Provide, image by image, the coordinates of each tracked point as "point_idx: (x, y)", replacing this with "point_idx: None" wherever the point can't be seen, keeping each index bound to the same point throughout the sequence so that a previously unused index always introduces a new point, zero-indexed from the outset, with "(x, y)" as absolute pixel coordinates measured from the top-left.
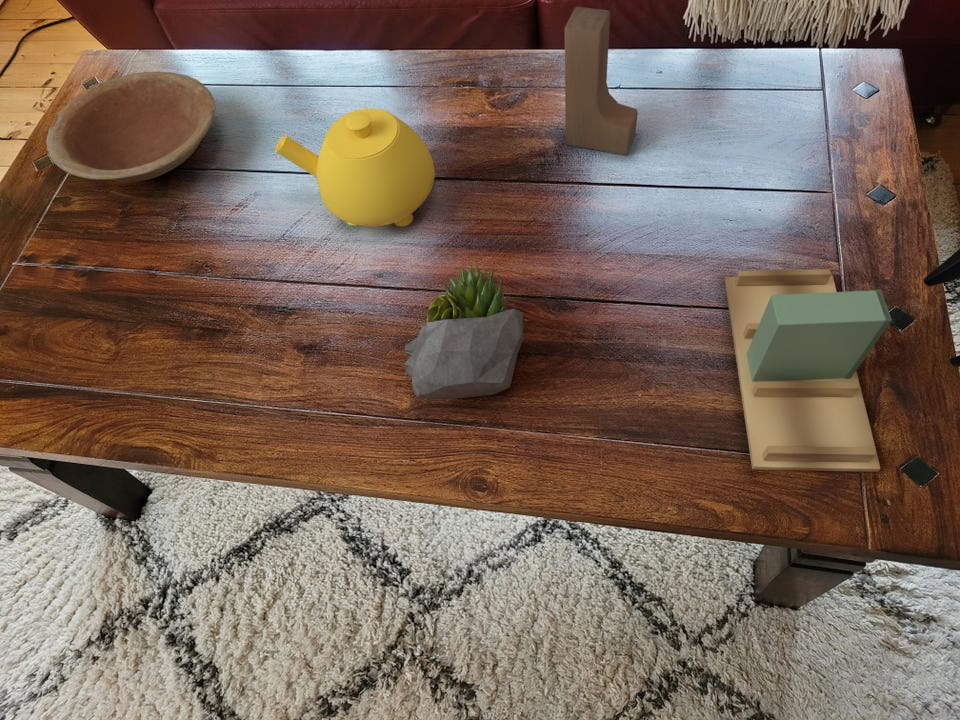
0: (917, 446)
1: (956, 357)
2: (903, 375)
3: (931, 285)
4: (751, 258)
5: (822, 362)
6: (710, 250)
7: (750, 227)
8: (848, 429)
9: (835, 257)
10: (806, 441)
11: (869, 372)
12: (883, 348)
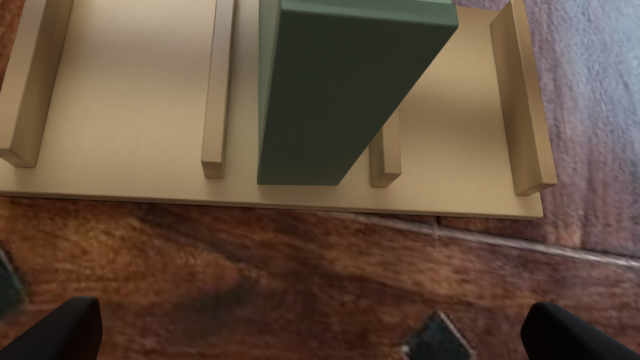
0: None
1: (75, 315)
2: (271, 326)
3: (525, 344)
4: (561, 80)
5: (262, 58)
6: (567, 16)
7: (636, 96)
8: (115, 146)
9: (593, 245)
10: (96, 53)
11: (282, 245)
12: (350, 295)
